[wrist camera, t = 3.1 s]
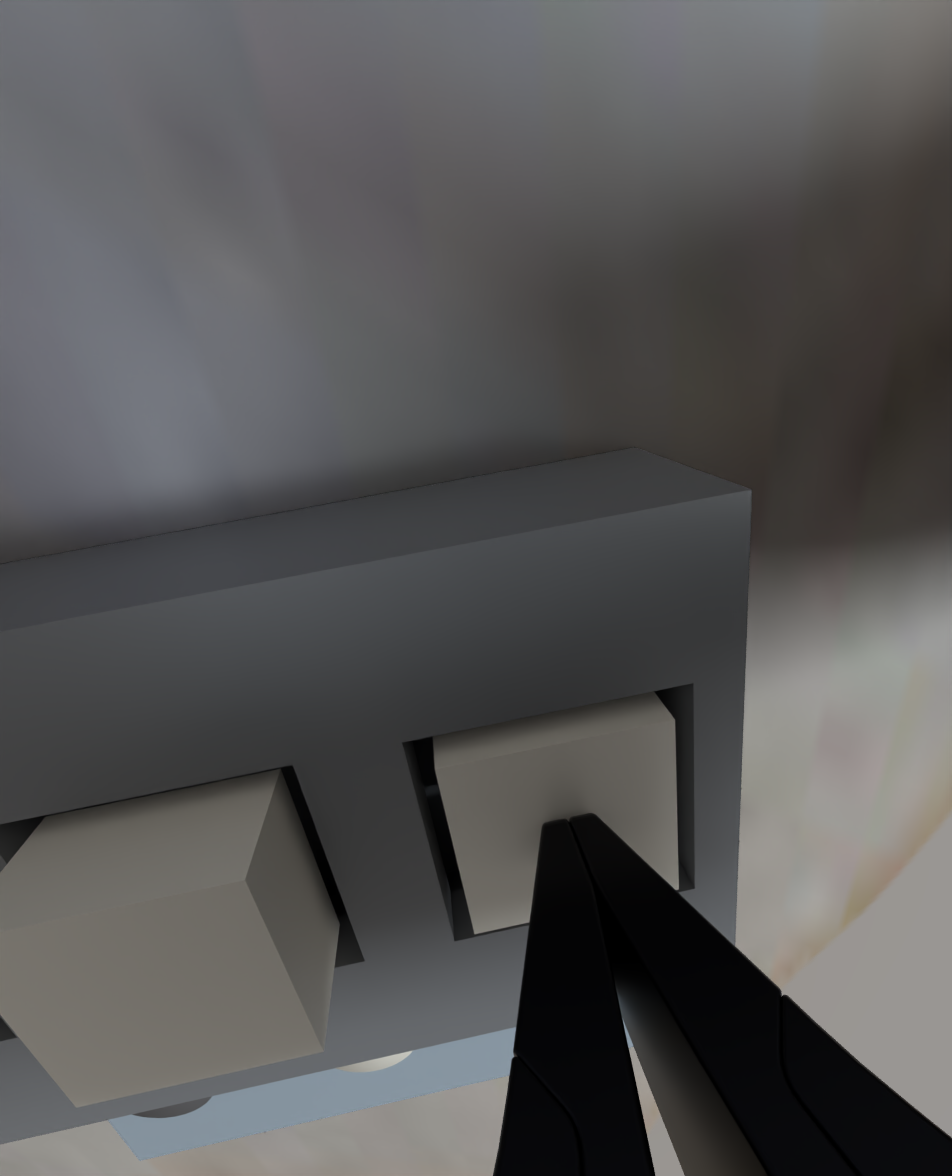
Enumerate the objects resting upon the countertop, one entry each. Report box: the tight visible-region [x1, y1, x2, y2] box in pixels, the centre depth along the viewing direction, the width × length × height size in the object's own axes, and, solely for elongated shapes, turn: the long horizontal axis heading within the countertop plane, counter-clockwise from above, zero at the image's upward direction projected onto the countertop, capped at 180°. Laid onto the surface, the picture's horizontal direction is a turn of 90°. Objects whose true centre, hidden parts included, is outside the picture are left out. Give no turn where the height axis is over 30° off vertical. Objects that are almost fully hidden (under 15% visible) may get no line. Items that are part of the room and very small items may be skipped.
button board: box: [0, 447, 752, 1144], centre depth 11 cm, size 18×10×4 cm, turn 99°
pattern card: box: [108, 1018, 634, 1161], centre depth 16 cm, size 16×7×1 cm, turn 99°
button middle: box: [0, 769, 340, 1108], centre depth 8 cm, size 4×4×2 cm
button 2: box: [433, 691, 679, 934], centre depth 10 cm, size 4×4×2 cm
